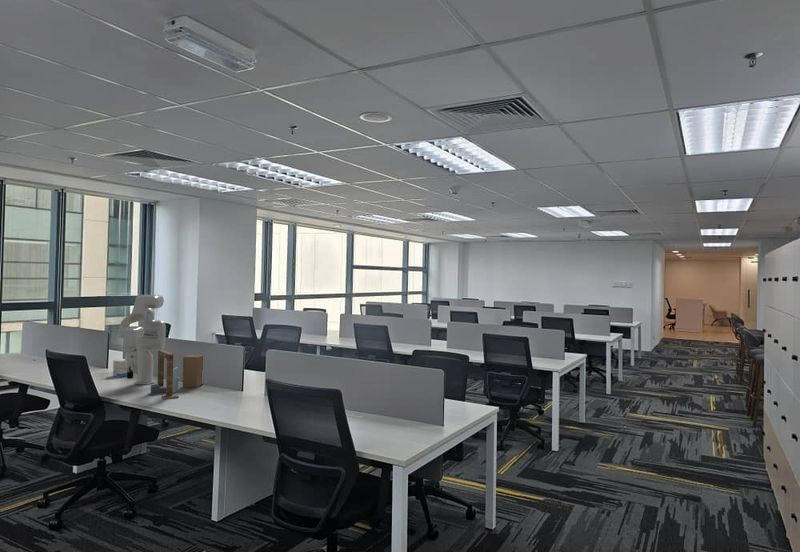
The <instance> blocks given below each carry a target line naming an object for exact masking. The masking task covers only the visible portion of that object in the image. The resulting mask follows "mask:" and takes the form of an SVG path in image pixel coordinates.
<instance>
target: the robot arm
mask: <svg viewBox="0 0 800 552" xmlns="http://www.w3.org/2000/svg"><path fill="white" fill-rule="evenodd" d="M164 300H165V299H164V296H163V295H161V294H138V295H137V296H136V297H135V301H134V304H133V307H132V310H131V313H129V314H128V315H127V316H125V317H124V318H123V319H122V321H120V326H119V327H118V337H119V338H120V339H123V341H122V342H123V343H122V344H123V352H124V359H125V366H126V367H127V376H126V378H127V379H128V380H129V379H130V380H131V379H134V368H137V380H135V381H134V384H135V385H153V384H155V383H156V380H155V379H154V355H153V353H152V352H151V351H158V350H164V349H165V347H166V332H167V331H166V326H167V325H166V322H165V321H164V320H155V315H156V314H155V311H154V310H153V309H160V308H162V307H163V306H164V303H165V301H164ZM137 322H139V323H140V324H139V326H137V325H136V326H133V325H132V326H130V325H131V324H134V323H137ZM144 335H147V336H144ZM148 335H149V336H148ZM150 335H151V336H150ZM152 335H154V336H152Z"/></svg>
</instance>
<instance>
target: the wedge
mask: <svg viewBox="0 0 800 552" xmlns="http://www.w3.org/2000/svg"><path fill="white" fill-rule="evenodd" d="M150 394H151V396H155V395H166V385H165V386H164V385H163V386H160V387H159V385H158V383H157V384H150ZM154 394H155V395H154Z"/></svg>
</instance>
